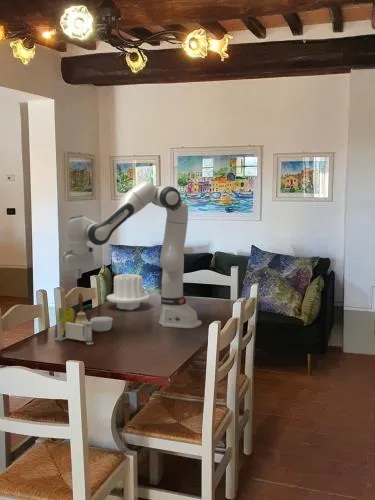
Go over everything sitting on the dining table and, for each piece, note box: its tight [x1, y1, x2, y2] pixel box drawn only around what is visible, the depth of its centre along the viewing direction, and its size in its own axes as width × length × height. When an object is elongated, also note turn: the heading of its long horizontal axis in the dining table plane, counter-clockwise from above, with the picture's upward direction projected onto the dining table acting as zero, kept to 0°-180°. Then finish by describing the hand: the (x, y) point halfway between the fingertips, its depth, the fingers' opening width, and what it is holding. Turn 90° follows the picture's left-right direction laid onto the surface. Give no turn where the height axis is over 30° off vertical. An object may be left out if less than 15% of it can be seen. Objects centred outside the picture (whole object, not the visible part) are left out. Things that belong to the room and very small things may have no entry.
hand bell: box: [75, 292, 90, 325], centre depth 283 cm, size 8×8×16 cm
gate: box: [64, 321, 93, 342], centre depth 250 cm, size 16×3×9 cm, turn 60°
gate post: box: [85, 325, 94, 346], centre depth 248 cm, size 3×3×8 cm
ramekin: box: [89, 316, 114, 332], centre depth 273 cm, size 11×11×5 cm
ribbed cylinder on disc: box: [106, 273, 151, 311], centre depth 320 cm, size 25×25×19 cm
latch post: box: [53, 321, 67, 341], centre depth 255 cm, size 5×4×8 cm
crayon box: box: [58, 307, 76, 332], centre depth 270 cm, size 7×3×12 cm, turn 86°
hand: (78, 278), depth 262 cm, fingers closed
